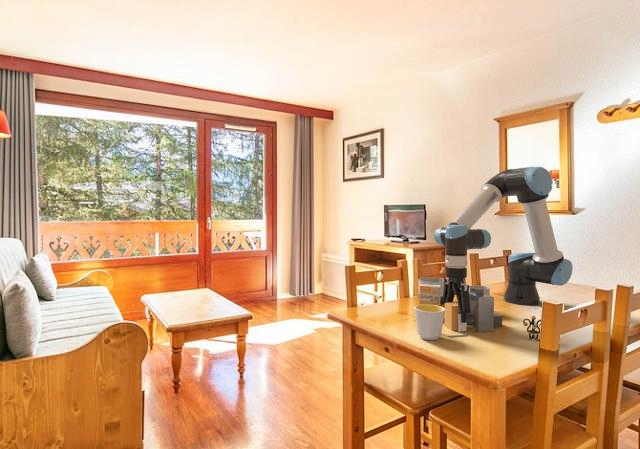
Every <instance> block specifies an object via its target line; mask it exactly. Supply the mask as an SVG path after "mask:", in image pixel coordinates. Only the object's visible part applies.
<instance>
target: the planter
mask: <svg viewBox="0 0 640 449" xmlns="http://www.w3.org/2000/svg"><path fill="white" fill-rule="evenodd" d="M444 279H445V278H441V277H435V276H432V277H431V276H427V277H426V276H425V277H420V278H418V290H417V291H418V293H417V294H418V295H417V296H418V299H419V296H420V284H429V285H441V289H440V304H441V303H443V302H442V301H443V291H444Z"/></svg>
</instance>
